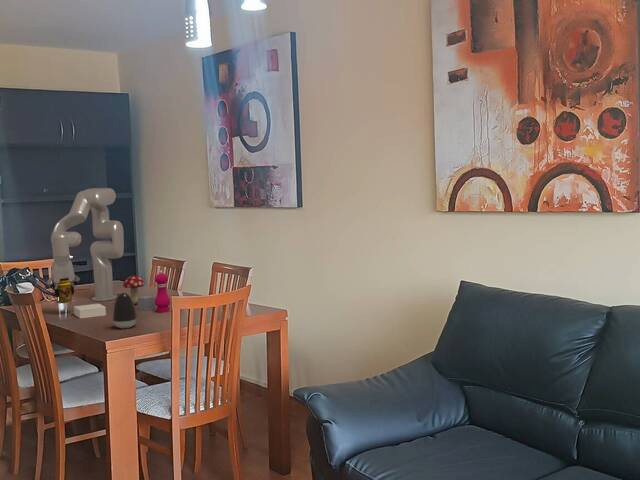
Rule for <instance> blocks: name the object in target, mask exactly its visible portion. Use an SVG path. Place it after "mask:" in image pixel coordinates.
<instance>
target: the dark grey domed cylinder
mask: <svg viewBox="0 0 640 480" xmlns="http://www.w3.org/2000/svg"><path fill="white" fill-rule="evenodd" d="M116 295H117V296H116V299H115V301H114V305H113V308H112V309H113V310H112V318H111V319H112V322H113V324H114V326H115V327H117V328H119V329H129V328H132V327H134V325H135V324H136V322H137V318H138V315H137V311H136V310H137V309H136V308H135V305H134V304H133V301H132V299H131V295H129V294H128V293H127V292H121V293H119V292H118V293H117V294H116Z"/></svg>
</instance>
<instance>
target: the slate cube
mask: <svg viewBox="0 0 640 480" xmlns="http://www.w3.org/2000/svg"><path fill="white" fill-rule="evenodd" d="M155 299H156V297H155V296H153V295H144V296H140V297H139V296H138V304H137V306H138V307H137V308H138V310H139V311H140V310H141V311H149V310H156V308H157V307H156V305H155Z"/></svg>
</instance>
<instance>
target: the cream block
mask: <svg viewBox="0 0 640 480" xmlns="http://www.w3.org/2000/svg"><path fill="white" fill-rule="evenodd" d="M106 309H107V308H106V306H104V305H103V304H100V303H92V304H83V305H75V306H73V315H74V316H76V317H77V318H79V319H87V318H94V317H102V316H103V317H104V316H107V312H106V311H107V310H106Z"/></svg>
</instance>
